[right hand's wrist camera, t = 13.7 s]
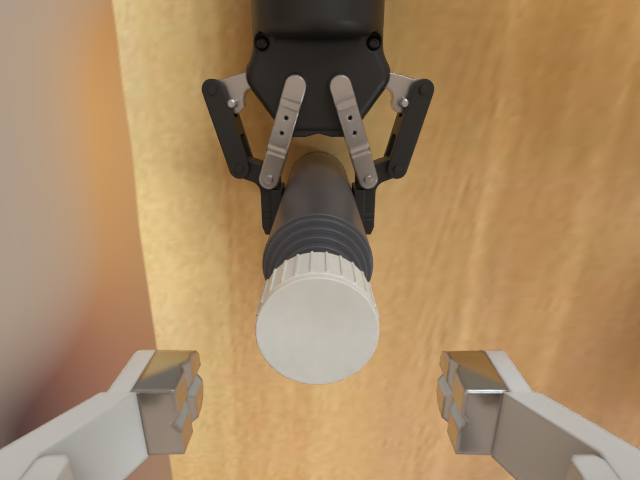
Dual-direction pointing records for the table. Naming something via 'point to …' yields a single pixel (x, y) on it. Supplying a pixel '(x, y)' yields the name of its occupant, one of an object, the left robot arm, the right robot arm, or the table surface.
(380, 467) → the table surface
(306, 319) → the cap
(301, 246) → the bottle
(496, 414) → the right robot arm
